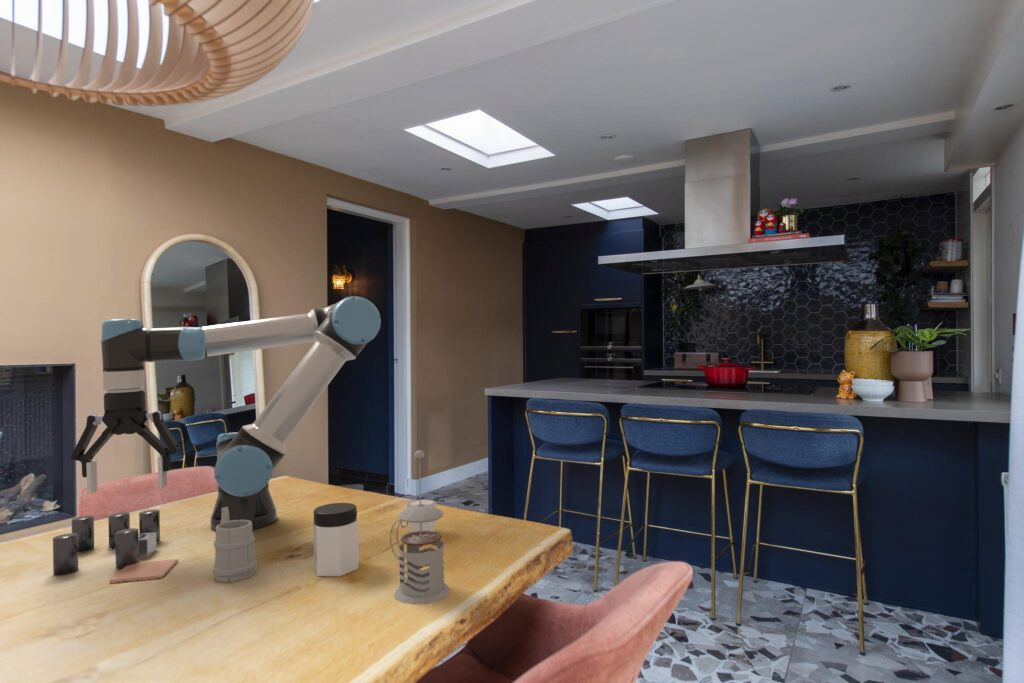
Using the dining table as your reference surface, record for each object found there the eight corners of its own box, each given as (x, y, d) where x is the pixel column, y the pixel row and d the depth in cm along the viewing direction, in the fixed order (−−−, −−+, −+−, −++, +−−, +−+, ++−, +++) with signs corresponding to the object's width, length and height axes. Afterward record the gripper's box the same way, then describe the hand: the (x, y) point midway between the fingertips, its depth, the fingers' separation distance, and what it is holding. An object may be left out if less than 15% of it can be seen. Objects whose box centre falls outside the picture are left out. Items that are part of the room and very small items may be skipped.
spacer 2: (97, 545, 133) (97, 514, 133) (89, 551, 129) (88, 519, 129) (77, 547, 132) (77, 516, 132) (68, 553, 128) (67, 521, 128)
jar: (362, 572, 114) (361, 510, 114) (318, 580, 110) (317, 516, 110) (353, 558, 122) (352, 500, 122) (312, 565, 118) (310, 505, 118)
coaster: (177, 561, 122) (177, 558, 122) (162, 578, 113) (162, 575, 113) (129, 566, 120) (129, 563, 120) (109, 583, 111) (109, 580, 111)
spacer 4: (142, 561, 123) (141, 527, 123) (134, 568, 119) (133, 533, 119) (120, 563, 122) (120, 529, 122) (112, 570, 118) (111, 535, 118)
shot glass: (401, 535, 135) (400, 505, 135) (417, 527, 142) (416, 498, 142) (427, 538, 133) (427, 507, 133) (442, 529, 139) (441, 500, 139)
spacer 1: (82, 566, 120) (81, 532, 120) (72, 574, 116) (71, 538, 116) (59, 568, 119) (59, 534, 119) (49, 576, 115) (48, 540, 115)
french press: (425, 608, 97) (422, 457, 97) (374, 594, 103) (371, 452, 104) (461, 587, 106) (458, 447, 106) (412, 575, 112) (409, 443, 112)
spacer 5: (162, 539, 137) (162, 508, 137) (156, 544, 133) (155, 513, 133) (143, 540, 136) (143, 510, 136) (136, 546, 132) (136, 515, 132)
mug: (219, 586, 108) (218, 521, 108) (202, 569, 117) (200, 509, 117) (262, 575, 113) (261, 513, 113) (242, 559, 122) (241, 501, 122)
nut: (156, 550, 130) (156, 531, 130) (147, 558, 125) (147, 538, 125) (131, 552, 129) (130, 533, 129) (121, 560, 124) (120, 540, 124)
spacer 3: (133, 542, 135) (132, 511, 135) (125, 547, 131) (125, 516, 131) (113, 543, 134) (113, 513, 134) (105, 549, 130) (105, 518, 130)
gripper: (193, 386, 133) (196, 480, 133) (68, 392, 128) (71, 490, 128) (182, 388, 126) (185, 488, 126) (48, 395, 120) (52, 498, 120)
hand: (128, 489), depth 127 cm, fingers open, 13 cm apart
